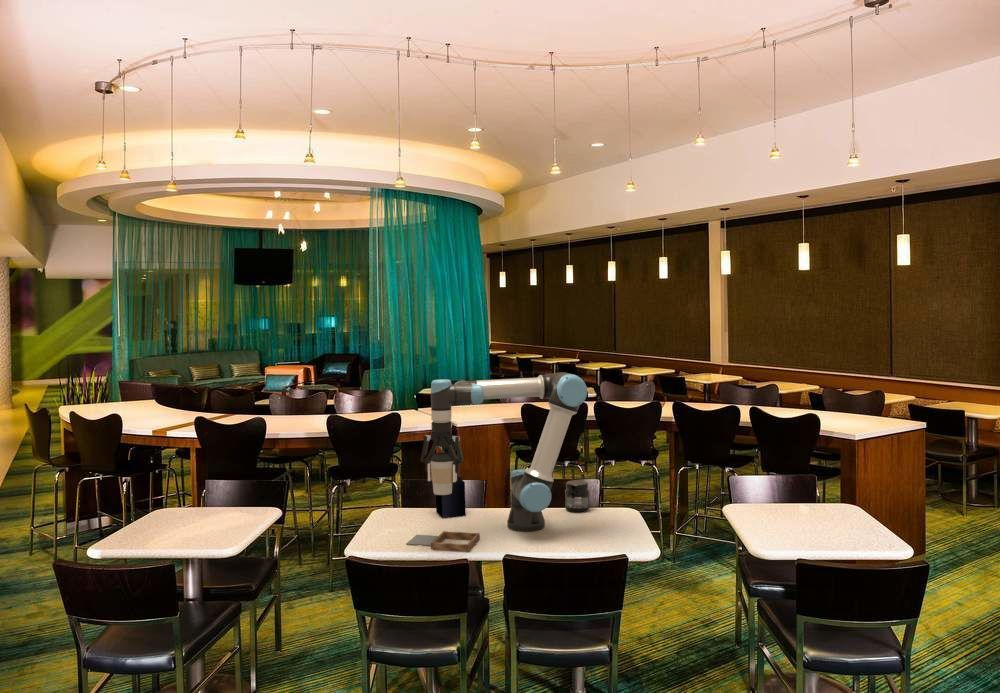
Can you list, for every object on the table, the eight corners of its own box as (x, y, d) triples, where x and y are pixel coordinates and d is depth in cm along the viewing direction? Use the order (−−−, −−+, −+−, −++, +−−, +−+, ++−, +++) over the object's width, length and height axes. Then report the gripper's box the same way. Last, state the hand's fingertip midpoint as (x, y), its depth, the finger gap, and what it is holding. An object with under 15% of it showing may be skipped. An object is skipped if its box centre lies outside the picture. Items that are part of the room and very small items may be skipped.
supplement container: (578, 505, 321) (578, 478, 321) (594, 510, 312) (594, 483, 312) (560, 509, 315) (559, 482, 315) (576, 514, 306) (575, 486, 306)
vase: (431, 511, 318) (429, 431, 316) (457, 508, 322) (455, 429, 320) (439, 519, 304) (437, 436, 303) (466, 516, 308) (463, 434, 306)
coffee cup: (442, 488, 278) (441, 449, 277) (459, 492, 272) (459, 452, 272) (425, 493, 271) (424, 453, 270) (443, 497, 265) (442, 456, 264)
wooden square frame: (479, 539, 276) (479, 533, 276) (469, 552, 262) (468, 545, 262) (443, 537, 280) (443, 531, 280) (431, 549, 266) (430, 543, 266)
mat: (443, 537, 280) (443, 536, 280) (433, 546, 269) (433, 545, 269) (416, 535, 283) (416, 534, 283) (406, 544, 272) (406, 543, 272)
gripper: (472, 420, 272) (473, 479, 273) (417, 419, 276) (418, 477, 277) (466, 423, 264) (467, 484, 265) (410, 421, 269) (411, 482, 270)
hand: (442, 480), depth 271 cm, fingers closed on coffee cup, 9 cm apart
